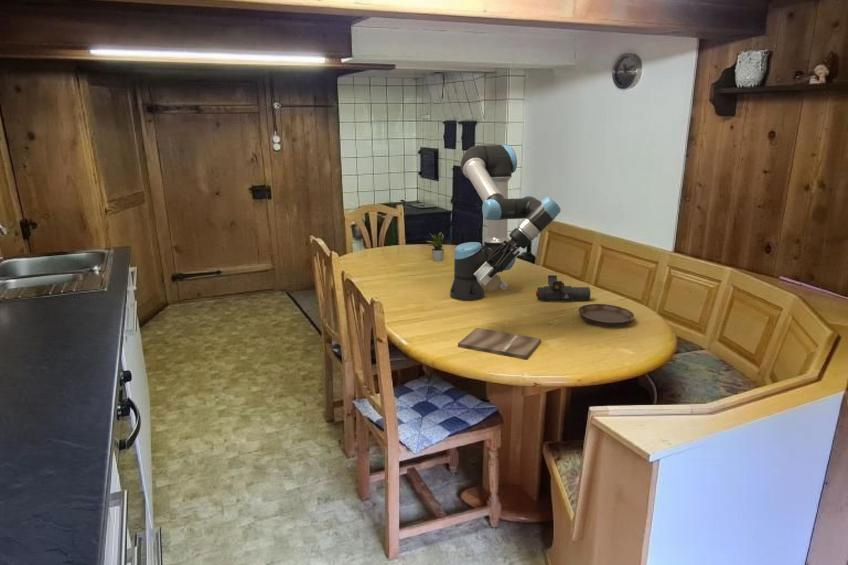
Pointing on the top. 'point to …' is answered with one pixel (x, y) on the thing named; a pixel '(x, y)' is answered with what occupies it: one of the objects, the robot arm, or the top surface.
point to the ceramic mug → (493, 283)
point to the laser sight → (561, 291)
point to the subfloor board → (500, 343)
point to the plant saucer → (605, 315)
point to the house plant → (437, 247)
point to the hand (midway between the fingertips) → (479, 279)
